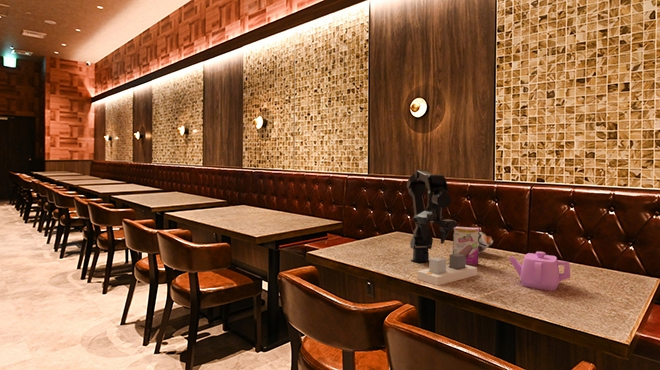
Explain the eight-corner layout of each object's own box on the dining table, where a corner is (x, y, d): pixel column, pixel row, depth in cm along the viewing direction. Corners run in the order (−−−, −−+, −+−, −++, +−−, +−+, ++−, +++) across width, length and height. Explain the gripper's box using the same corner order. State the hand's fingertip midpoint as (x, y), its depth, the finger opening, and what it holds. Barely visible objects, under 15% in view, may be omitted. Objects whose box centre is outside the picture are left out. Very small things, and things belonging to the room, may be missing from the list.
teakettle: (537, 293, 143) (538, 258, 142) (505, 279, 159) (506, 248, 158) (576, 289, 147) (578, 256, 146) (541, 276, 163) (542, 246, 163)
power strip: (417, 279, 157) (417, 270, 157) (456, 270, 171) (456, 261, 171) (437, 286, 149) (437, 276, 149) (476, 276, 163) (477, 266, 162)
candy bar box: (452, 264, 182) (453, 227, 181) (452, 261, 187) (453, 226, 186) (478, 266, 178) (479, 229, 177) (478, 263, 183) (479, 227, 182)
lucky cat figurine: (479, 249, 212) (492, 228, 206) (486, 263, 201) (499, 241, 195) (453, 241, 211) (465, 220, 205) (458, 255, 200) (470, 233, 194)
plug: (428, 279, 157) (429, 258, 156) (437, 277, 159) (438, 257, 159) (437, 281, 153) (437, 260, 153) (445, 279, 156) (446, 259, 156)
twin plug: (449, 274, 163) (449, 254, 163) (456, 272, 166) (457, 253, 166) (457, 276, 160) (457, 256, 160) (465, 274, 163) (465, 255, 163)
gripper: (404, 203, 171) (403, 239, 172) (439, 208, 156) (438, 248, 157) (422, 201, 177) (421, 236, 179) (457, 206, 162) (456, 245, 163)
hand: (433, 241), depth 169 cm, fingers open, 9 cm apart
